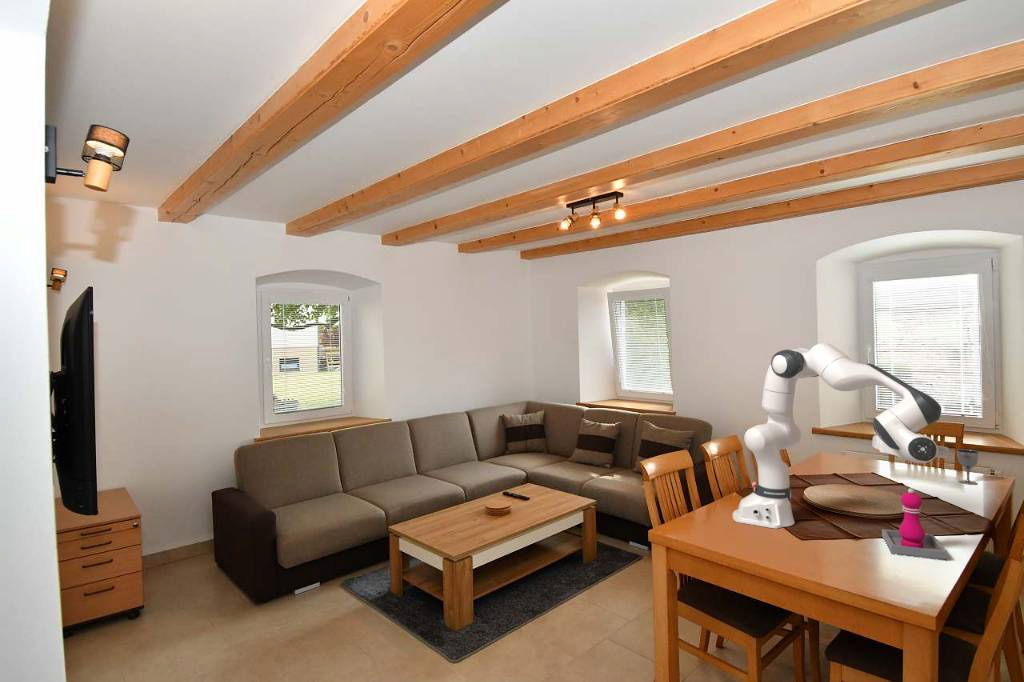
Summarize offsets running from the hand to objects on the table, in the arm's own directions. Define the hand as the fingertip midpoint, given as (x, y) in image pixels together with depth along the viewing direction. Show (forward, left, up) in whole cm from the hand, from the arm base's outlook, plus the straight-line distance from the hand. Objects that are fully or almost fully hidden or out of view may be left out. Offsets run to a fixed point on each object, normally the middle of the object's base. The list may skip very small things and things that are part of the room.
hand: (905, 446), depth 185 cm
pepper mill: (+2, +2, -35) cm, 35 cm away
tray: (+2, +2, -35) cm, 35 cm away
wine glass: (+43, +98, -36) cm, 113 cm away
